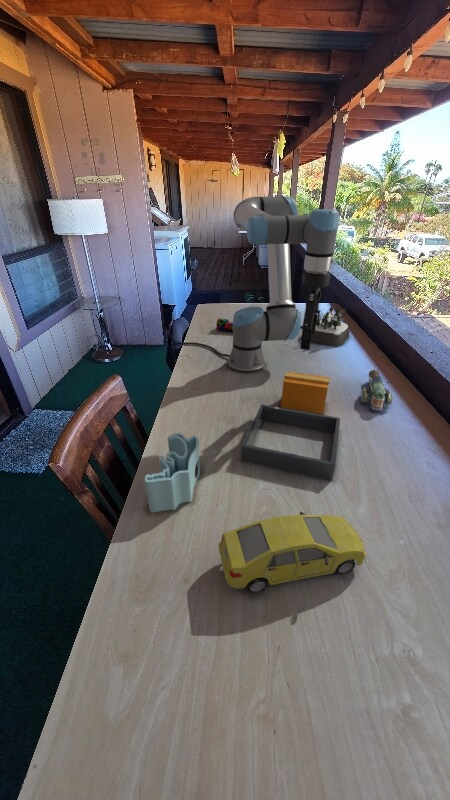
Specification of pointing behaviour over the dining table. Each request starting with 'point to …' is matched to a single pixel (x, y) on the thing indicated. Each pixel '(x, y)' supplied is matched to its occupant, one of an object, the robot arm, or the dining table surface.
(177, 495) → the squiggly pen holder
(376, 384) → the hoverbike
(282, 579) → the toy car
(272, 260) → the robot arm
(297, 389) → the orange striped block
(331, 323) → the miniature diorama
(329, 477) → the rectangular frame
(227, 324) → the sculpture
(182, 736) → the dining table surface
